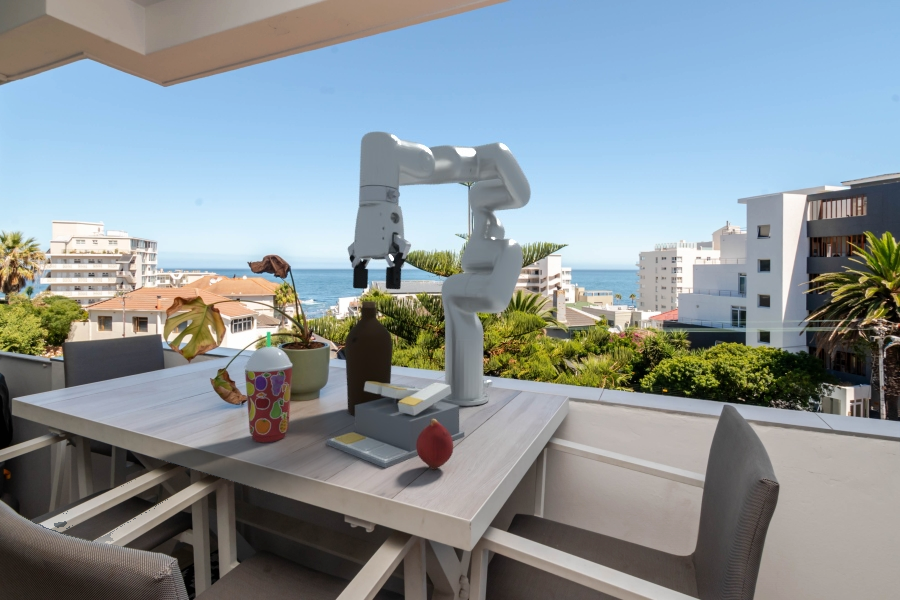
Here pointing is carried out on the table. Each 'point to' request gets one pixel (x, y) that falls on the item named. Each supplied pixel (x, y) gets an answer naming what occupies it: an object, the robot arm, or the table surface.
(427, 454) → the onion
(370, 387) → the rocker
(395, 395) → the rocker
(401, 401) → the rocker
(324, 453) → the table surface
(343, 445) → the switch unit
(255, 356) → the smoothie
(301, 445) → the table surface
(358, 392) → the olive oil
